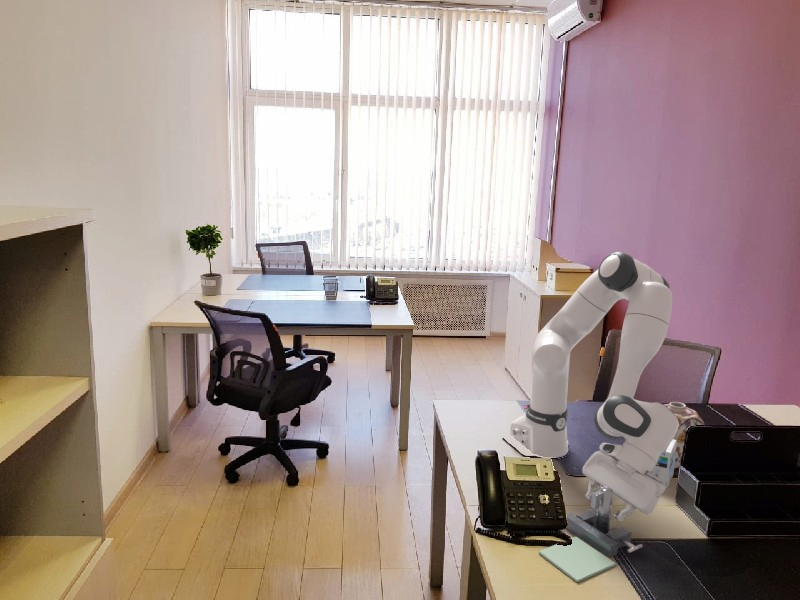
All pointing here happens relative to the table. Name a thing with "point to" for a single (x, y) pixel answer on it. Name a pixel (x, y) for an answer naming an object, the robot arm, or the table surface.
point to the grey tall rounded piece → (603, 509)
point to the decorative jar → (683, 425)
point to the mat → (577, 559)
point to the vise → (599, 534)
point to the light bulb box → (666, 464)
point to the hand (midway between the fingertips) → (602, 508)
